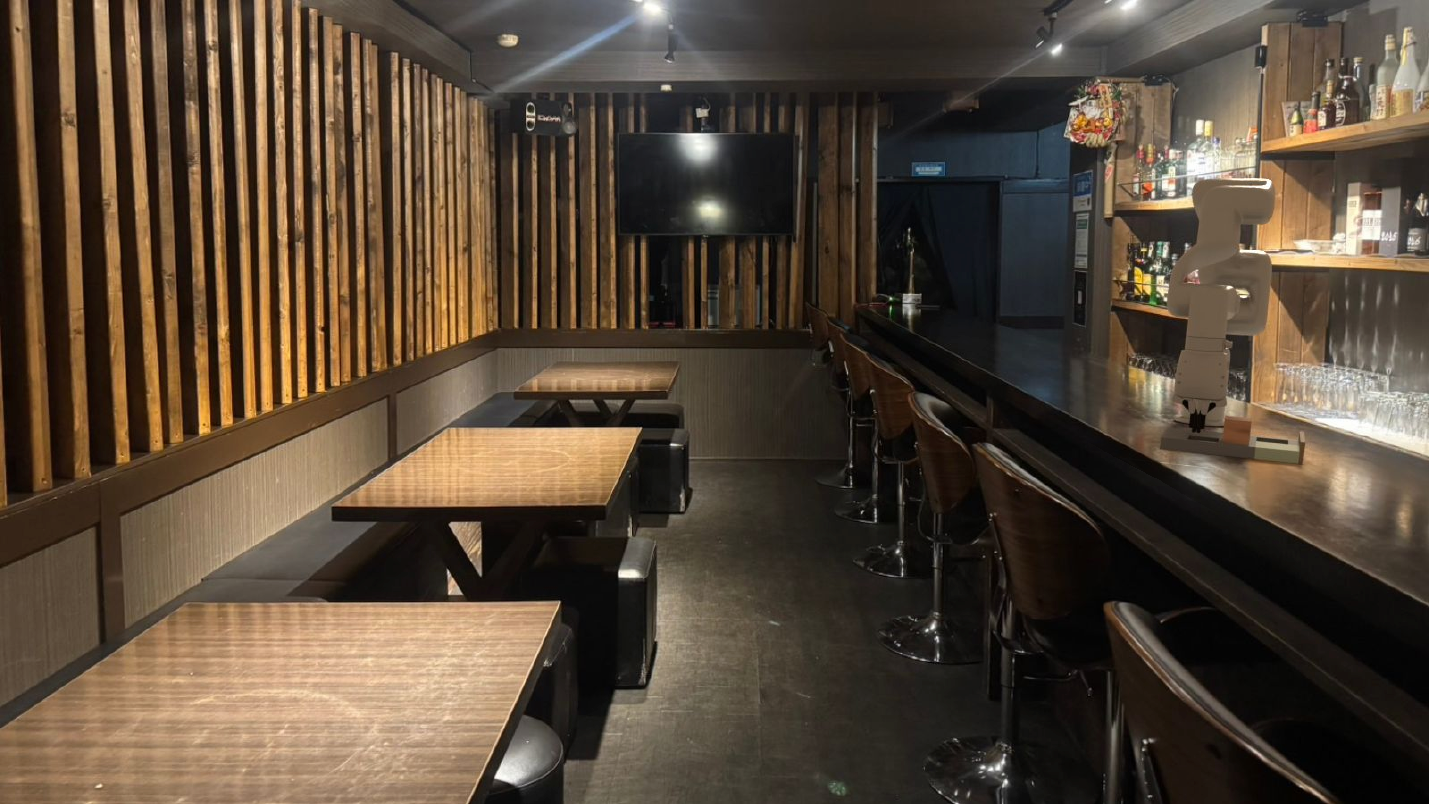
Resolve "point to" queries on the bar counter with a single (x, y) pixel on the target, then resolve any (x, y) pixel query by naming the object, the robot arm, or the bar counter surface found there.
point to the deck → (1234, 446)
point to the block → (1237, 430)
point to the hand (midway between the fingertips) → (1196, 431)
